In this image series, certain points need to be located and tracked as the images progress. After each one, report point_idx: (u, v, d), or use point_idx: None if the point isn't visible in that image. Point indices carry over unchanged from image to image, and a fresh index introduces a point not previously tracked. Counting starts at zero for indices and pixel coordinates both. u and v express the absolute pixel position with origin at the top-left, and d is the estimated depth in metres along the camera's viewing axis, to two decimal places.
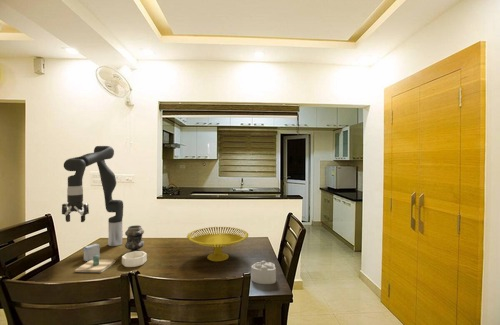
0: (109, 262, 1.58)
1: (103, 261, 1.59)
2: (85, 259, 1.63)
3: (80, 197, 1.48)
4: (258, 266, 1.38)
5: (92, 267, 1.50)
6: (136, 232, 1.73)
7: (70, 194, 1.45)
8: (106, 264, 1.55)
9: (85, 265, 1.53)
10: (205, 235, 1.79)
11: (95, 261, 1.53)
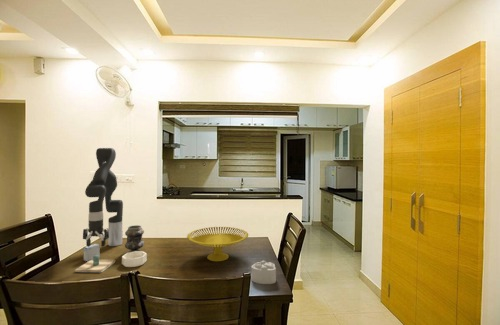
0: (109, 262, 1.58)
1: (103, 261, 1.59)
2: (85, 259, 1.63)
3: (101, 222, 1.53)
4: (258, 266, 1.38)
5: (92, 267, 1.50)
6: (136, 232, 1.73)
7: (91, 220, 1.50)
8: (106, 264, 1.55)
9: (85, 265, 1.53)
10: (205, 235, 1.79)
11: (95, 261, 1.53)
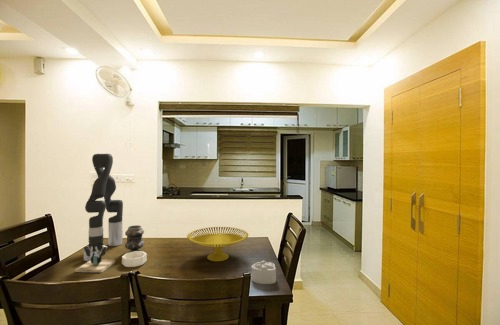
0: (109, 262, 1.58)
1: (103, 261, 1.59)
2: (85, 259, 1.63)
3: (101, 237, 1.53)
4: (258, 266, 1.38)
5: (92, 267, 1.50)
6: (136, 232, 1.73)
7: (92, 235, 1.50)
8: (106, 264, 1.55)
9: (85, 265, 1.53)
10: (205, 235, 1.79)
11: (95, 261, 1.53)
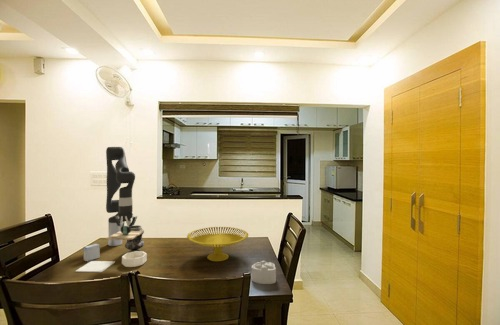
0: (138, 233, 1.61)
1: (132, 232, 1.63)
2: (85, 259, 1.63)
3: (130, 208, 1.57)
4: (258, 266, 1.38)
5: (122, 236, 1.54)
6: None
7: (122, 205, 1.54)
8: (135, 234, 1.58)
9: (115, 234, 1.57)
10: (205, 235, 1.79)
11: (125, 231, 1.57)
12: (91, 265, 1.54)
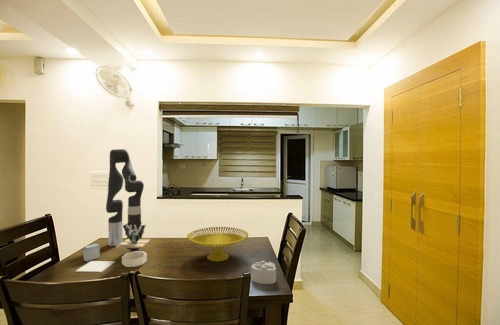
0: (146, 240, 1.63)
1: (140, 240, 1.65)
2: (85, 259, 1.63)
3: (139, 216, 1.59)
4: (258, 266, 1.38)
5: (131, 244, 1.56)
6: None
7: (131, 214, 1.56)
8: (144, 242, 1.60)
9: (124, 243, 1.59)
10: (205, 235, 1.79)
11: (134, 239, 1.59)
12: (91, 265, 1.54)
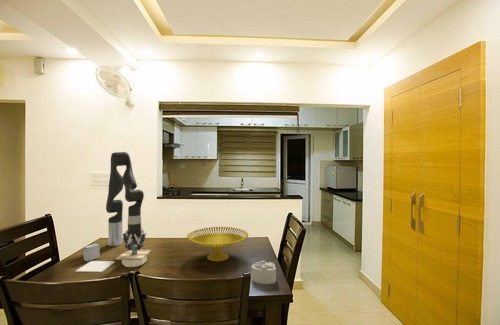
0: (146, 251, 1.64)
1: (140, 251, 1.65)
2: (85, 259, 1.63)
3: (139, 226, 1.59)
4: (258, 266, 1.38)
5: (131, 256, 1.56)
6: None
7: (131, 223, 1.56)
8: (144, 253, 1.61)
9: (124, 254, 1.59)
10: (205, 235, 1.79)
11: (134, 250, 1.59)
12: (91, 265, 1.54)
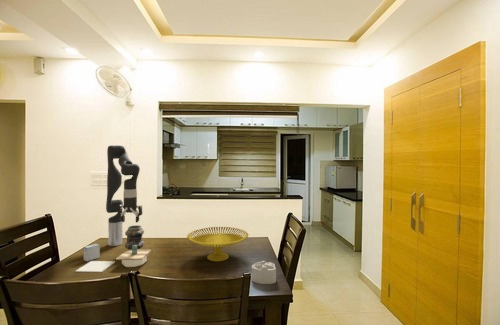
0: (146, 251, 1.64)
1: (140, 251, 1.65)
2: (85, 259, 1.63)
3: (135, 199, 1.60)
4: (258, 266, 1.38)
5: (131, 256, 1.56)
6: (136, 232, 1.73)
7: (127, 197, 1.57)
8: (144, 253, 1.61)
9: (124, 254, 1.59)
10: (205, 235, 1.79)
11: (134, 250, 1.59)
12: (91, 265, 1.54)
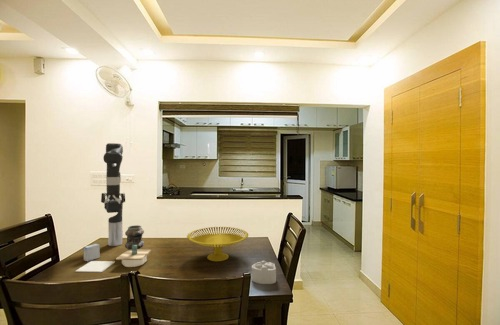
0: (146, 251, 1.64)
1: (140, 251, 1.65)
2: (85, 259, 1.63)
3: (118, 187, 1.64)
4: (258, 266, 1.38)
5: (131, 256, 1.56)
6: (136, 232, 1.73)
7: (109, 184, 1.61)
8: (144, 253, 1.61)
9: (124, 254, 1.59)
10: (205, 235, 1.79)
11: (134, 250, 1.59)
12: (91, 265, 1.54)
